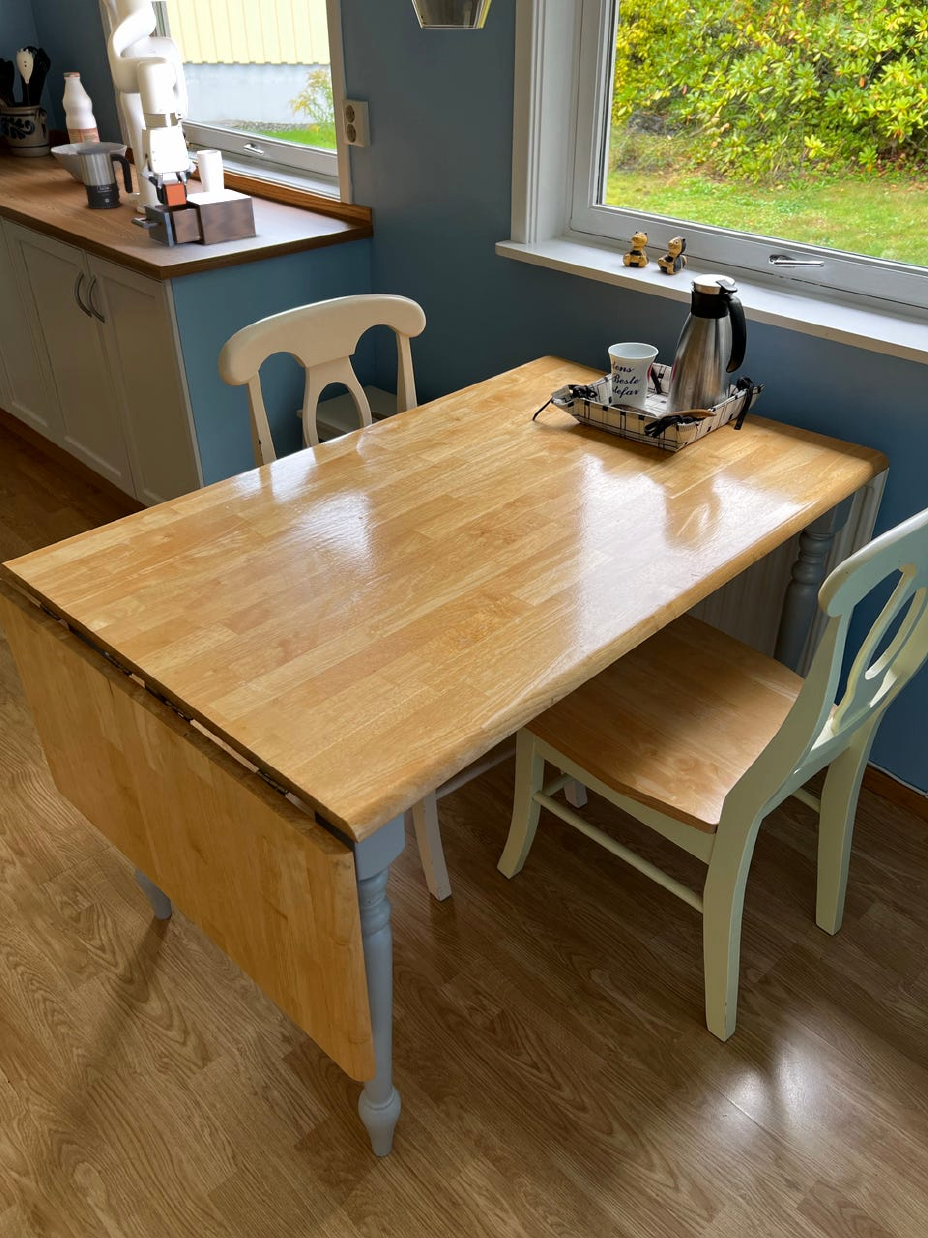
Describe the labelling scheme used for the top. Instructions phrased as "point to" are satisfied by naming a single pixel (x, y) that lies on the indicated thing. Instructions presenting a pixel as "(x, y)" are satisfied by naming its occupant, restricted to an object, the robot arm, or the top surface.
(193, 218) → the drawer
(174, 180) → the orange-red cube
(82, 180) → the ceramic bowl
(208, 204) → the cabinet
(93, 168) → the milk frother
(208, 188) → the white cylinder
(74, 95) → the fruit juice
